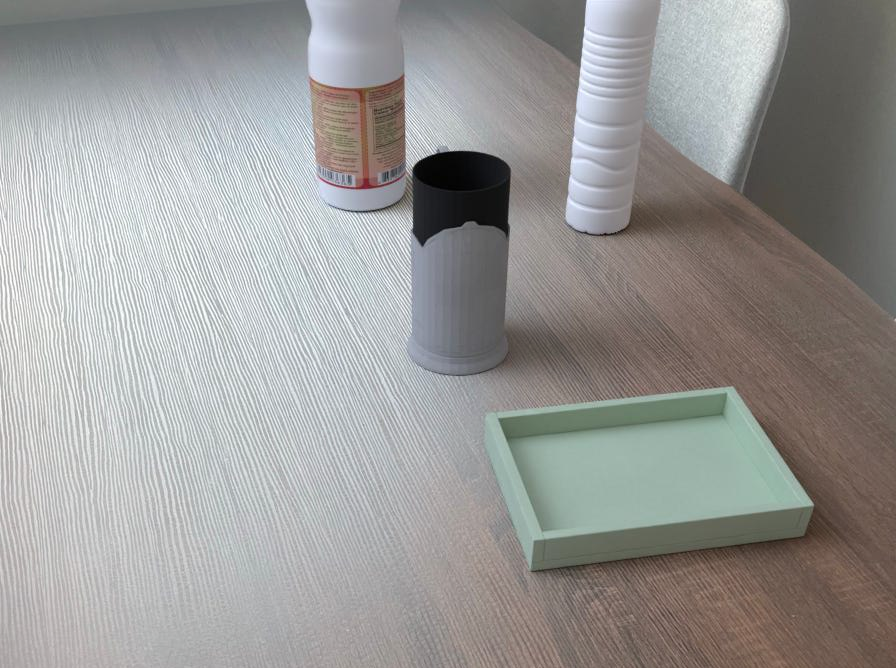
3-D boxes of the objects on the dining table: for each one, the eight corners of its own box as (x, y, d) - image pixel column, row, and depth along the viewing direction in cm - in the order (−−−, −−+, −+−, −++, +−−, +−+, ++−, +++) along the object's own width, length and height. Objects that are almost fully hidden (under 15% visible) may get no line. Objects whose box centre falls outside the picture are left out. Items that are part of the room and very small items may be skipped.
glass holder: (415, 379, 85) (413, 199, 74) (391, 295, 95) (386, 124, 84) (518, 369, 86) (531, 190, 75) (484, 286, 95) (491, 117, 84)
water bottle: (628, 238, 102) (671, -59, 83) (562, 233, 103) (591, -62, 84) (630, 200, 108) (671, -86, 89) (568, 196, 108) (596, -88, 90)
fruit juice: (317, 214, 106) (291, -116, 85) (318, 176, 112) (294, -140, 92) (408, 212, 106) (403, -118, 86) (404, 173, 113) (399, -142, 92)
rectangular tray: (725, 416, 81) (733, 385, 79) (804, 536, 71) (815, 505, 69) (483, 443, 79) (485, 413, 77) (530, 571, 69) (533, 540, 67)
